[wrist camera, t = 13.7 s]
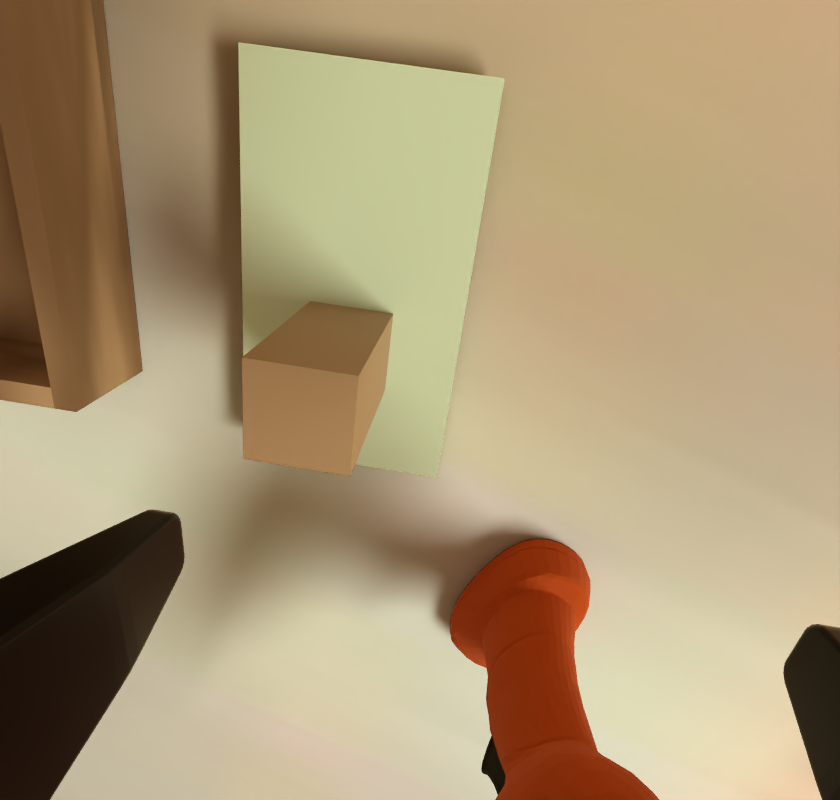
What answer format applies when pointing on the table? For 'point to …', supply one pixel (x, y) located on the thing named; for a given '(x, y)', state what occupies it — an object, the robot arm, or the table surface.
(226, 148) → the table surface
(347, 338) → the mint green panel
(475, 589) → the toy drill
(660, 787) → the table surface
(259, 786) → the table surface
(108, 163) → the tan wooden t-shaped piece
